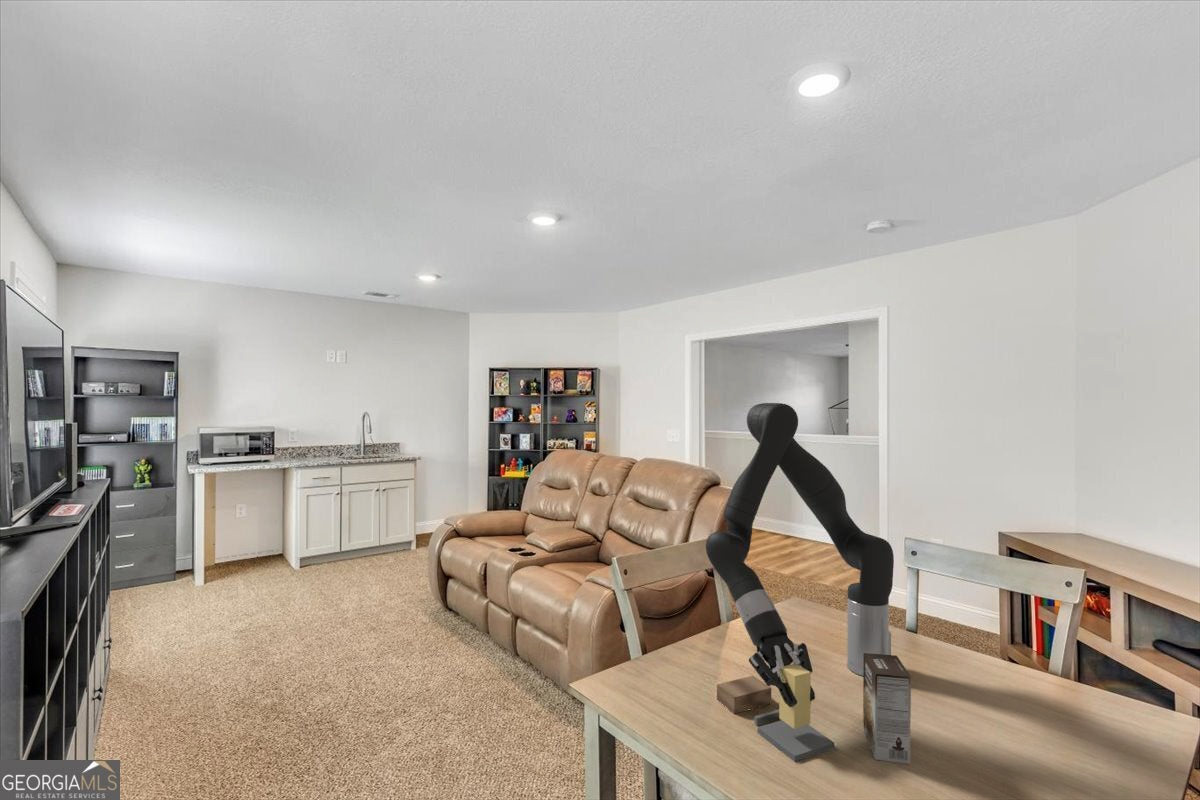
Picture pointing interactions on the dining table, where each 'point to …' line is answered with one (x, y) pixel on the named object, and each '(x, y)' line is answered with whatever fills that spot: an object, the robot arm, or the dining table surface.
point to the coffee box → (886, 707)
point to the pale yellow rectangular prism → (801, 690)
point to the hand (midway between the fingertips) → (802, 702)
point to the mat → (796, 740)
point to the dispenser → (747, 697)
